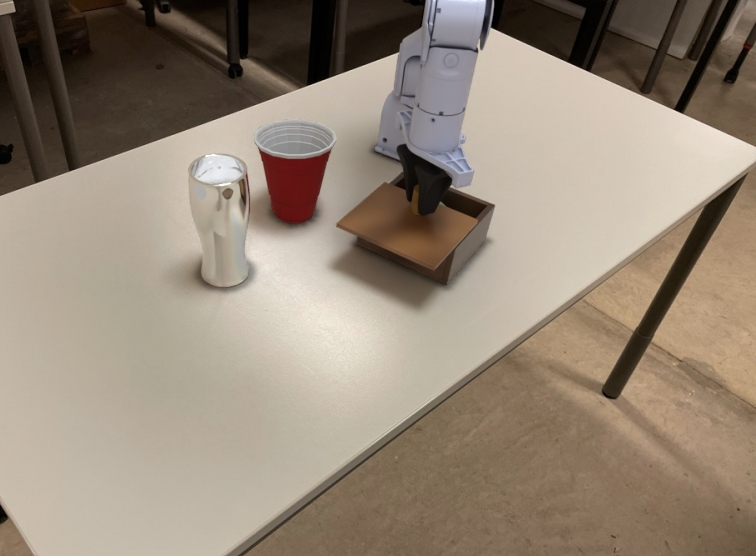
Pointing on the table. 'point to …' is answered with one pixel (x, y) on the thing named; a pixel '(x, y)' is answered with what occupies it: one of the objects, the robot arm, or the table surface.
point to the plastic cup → (294, 165)
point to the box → (462, 250)
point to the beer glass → (221, 216)
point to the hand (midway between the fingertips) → (420, 206)
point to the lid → (407, 226)
